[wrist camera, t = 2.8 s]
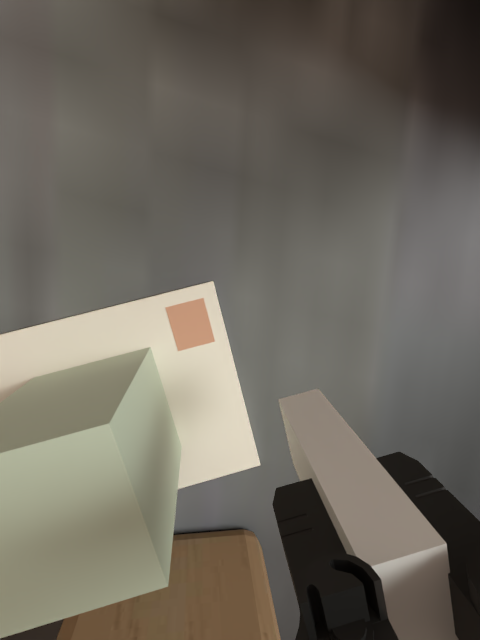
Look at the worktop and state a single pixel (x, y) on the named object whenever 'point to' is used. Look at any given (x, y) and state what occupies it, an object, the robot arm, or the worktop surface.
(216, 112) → the worktop surface
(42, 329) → the letter
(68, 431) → the sage block
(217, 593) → the wooden block
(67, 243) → the worktop surface
